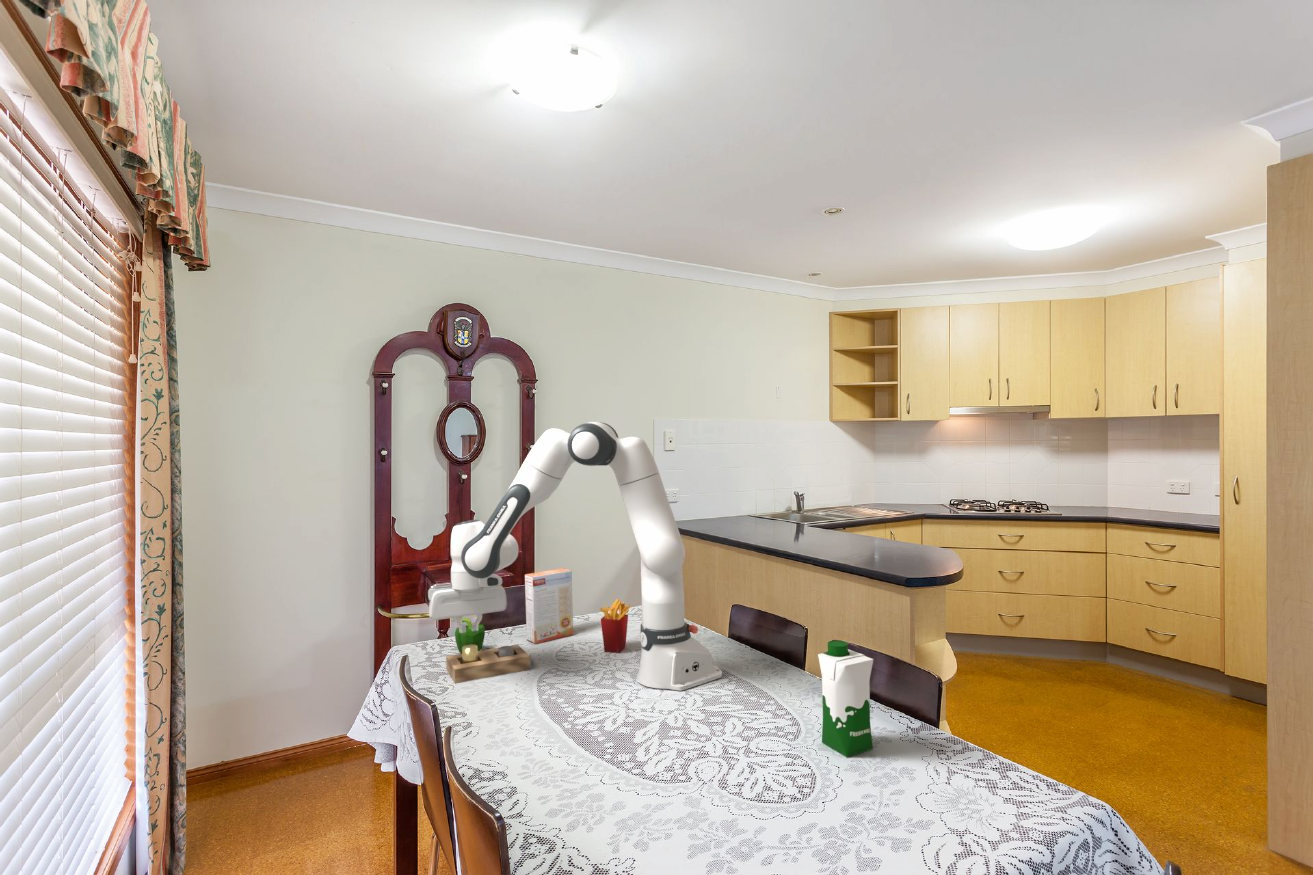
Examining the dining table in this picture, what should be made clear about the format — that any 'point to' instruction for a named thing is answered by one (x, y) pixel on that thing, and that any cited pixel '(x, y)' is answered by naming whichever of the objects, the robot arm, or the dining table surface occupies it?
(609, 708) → the dining table surface
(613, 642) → the french fries
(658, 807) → the dining table surface
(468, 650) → the bushing
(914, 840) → the dining table surface
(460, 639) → the bell pepper
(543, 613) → the cracker box
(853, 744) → the milk carton
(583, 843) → the dining table surface
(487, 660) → the jig
